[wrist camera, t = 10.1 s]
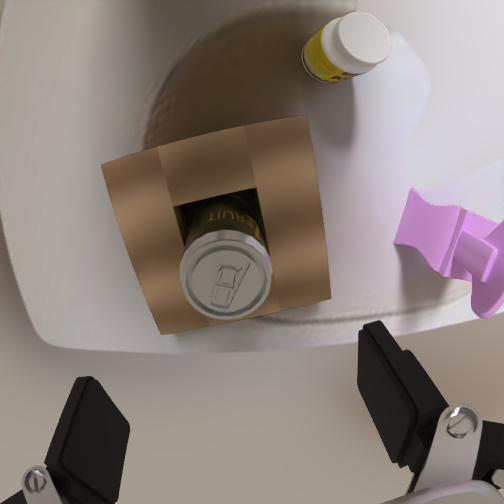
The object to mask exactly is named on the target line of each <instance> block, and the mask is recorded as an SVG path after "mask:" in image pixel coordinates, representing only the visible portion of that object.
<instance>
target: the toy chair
mask: <svg viewBox="0 0 504 504" xmlns="http://www.w3.org/2000/svg"><path fill="white" fill-rule="evenodd" d="M394 244H397V245H408V246H412V247H414V248H416V249H417V250H418V251H420V252H421V254H422V255H423V256H424V258H425V259H426V261H427V262H428V264H429V265H430V267H431V268H432V269H433V270H435V271H436V272H438V273H440V274H441V275H442V276H443V277H448V278H455V279H461V280H466V281H471V282H472V295H471V307H472V310H473V312H474V313H475V314H476V315H477V316H479V317H480V318H482V319H487V318H488V317H490V316H492V315H493V314H494V313H495V312H496V311H497V310H498V309H499V308H500V307H501V305H502V304H503V302H504V221H502V222H501V223H500V224H498V223H496V222H493V221H491V220H489V219H487V218H484V217H482V216H480V215H477V214H475V213H473V212H470V211H468V210H465V209H463V208H462V207H461V206H459V207H458V206H455V205H448V206H435V205H431V204H430V203H428V202H427V201H426V200H424V199H423V198H422V197H421V196H420V195H419V194H418V192H417V191H416V190H415V189H414V188H411V189H410V192H409V196H408V199H407V202H406V206H405V209H404V212H403V216H402V219H401V222H400V225H399V228H398V231H397V234H396V237H395V240H394Z"/></svg>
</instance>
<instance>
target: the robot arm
mask: <svg viewBox="0 0 504 504" xmlns="http://www.w3.org/2000/svg"><path fill="white" fill-rule="evenodd" d="M357 385H358V388H359V391H360V393H361V396H362V398H363V400H364V402H365V404H366V406H367V408H368V411H369V412H370V415H371V417H372V419H373V422H374V424H375V426H376V428H377V430H378V432H379V435H380V437H381V439H382V441H383V444H384V446H385V448H386V450H387V452H388V455H389V457H390V459H391V461H392V463H396V462H397V463H398V465H399V467H400V468H402V467H404V466H407V465H408V466H409V468H410V470H411V472H413V476H412V479H411V481H410V484H409V486H408V489H407V491H406V493H405V495H404V496H401V497H398V498H396V499H393V500H390V501H387V502H384V503H381V504H504V498H503V496H502V495H501V494H500V492H499V491H498V490H497V489H501V488H503V489H504V424H502V423H496V422H490V421H484V420H482V416H481V414H480V412H479V411H478V410H477V409H476V408H475V407H473V406H472V405H469V404H465V403H458V404H454V405H451V406H449V405H448V403H447V402H446V400H445V399H444V398H443V396H442V395H441V393H440V392H439V390H438V389H437V387H436V386H435V385H434V383H433V381H432V380H431V378H430V377H429V376H428V374H427V373H426V371H425V370H424V368H423V367H422V366H421V364H420V363H419V362H418V360H417V359H416V357H415V356H414V354H413V353H412V352H411V351H410V350H404V351H402V350H401V348H400V347H399V345H398V344H397V343H396V341H395V340H394V338H393V337H392V335H391V334H390V333H389V331H388V330H387V328H386V327H385V326H384V324H383V323H382V322H381V321H380V320H378V321H374V322H371V323H368V324H365V325H363V330H360V331H359V333H358V375H357ZM129 433H130V425H129V423H128V421H127V420H126V419H125V417H124V416H123V415H122V413H121V412H120V411H119V409H118V408H117V407H116V405H115V404H114V403H113V401H112V400H111V399H110V397H109V396H108V394H107V393H106V391H105V390H104V389H103V387H102V386H101V384H100V383H99V382H98V380H95V379H94V378H93V377H91V376H86V377H78V378H77V379H76V380H75V383H74V385H73V387H72V390H71V392H70V394H69V397H68V399H67V402H66V404H65V407H64V409H63V412H62V414H61V417H60V419H59V423H58V425H57V427H56V430H55V433H54V435H53V438H52V441H51V444H50V447H49V449H48V452H47V456H46V458H45V462H44V463H45V464H46V465H47V467H46V469H45V468H44V467H42V466H33V467H30V468H29V469H28V470H27V471H26V472H25V473H24V475H23V478H22V490H20V491H19V492H17V493H16V494H14V495H13V496H11V497H10V498H8V499H6V500H5V501H3V502H2V503H0V504H115V502H117V500H118V496H119V490H120V484H121V477H122V471H123V465H124V460H125V454H126V449H127V443H128V438H129Z"/></svg>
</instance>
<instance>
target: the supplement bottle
mask: <svg viewBox="0 0 504 504" xmlns="http://www.w3.org/2000/svg"><path fill="white" fill-rule="evenodd" d="M391 48H392V41H391V37H390V34H389V32H388V30H387V28H386V27H385V26H384V24H383V23H382V22H381V21H379V20H378V19H377V18H375V17H374V16H372V15H370V14H367V13H363V12H353V13H350V14H347V15H346V16H344V17H339V18H336V19H334V20H332V21H330V22H329V23H328V24H326V25H325V26H324V27H323V28H322V29H321V30H320V31H319V32H318V33H316V34H315V35H314V36H313V37H312V38H311V39H310V40H309V41H308V42H307V43H306V44H305V45H304V47H303V49H302V54H301V58H302V63H303V65H304V68H305V69H306V71H307V72H308V73H309V74H310V75H311V76H312V77H313V78H315V79H317V80H319V81H321V82H325V83H336V82H340V81H342V80H345V79H348V78H351V77H354V76H357V75H360V74H364V73H366V72H368V71H370V70H372V69H373V68H374V67H375V66H376V65H377V64H378V63H380V62H382V61H384V60H385V59H386V58H387V57H388V56H389V54H390V52H391Z"/></svg>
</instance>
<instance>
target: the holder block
mask: <svg viewBox="0 0 504 504" xmlns="http://www.w3.org/2000/svg"><path fill="white" fill-rule="evenodd" d="M101 168H102V171H103V175H104V179H105V182H106V186H107V189H108V192H109V196H110V199H111V202H112V206H113V209H114V212H115V215H116V218H117V222H118V225H119V228H120V231H121V234H122V237H123V240H124V242H125V245H126V248H127V251H128V254H129V257H130V259H131V262H132V265H133V268H134V270H135V273H136V275H137V278H138V281H139V283H140V286H141V288H142V291H143V293H144V296H145V298H146V301H147V303H148V306H149V308H150V310H151V313H152V315H153V318H154V320H155V322H156V325H157V327H158V329H159V331H160V334H161V335H165V334H170V333H176V332H182V331H187V330H193V329H198V328H203V327H208V326H213V325H218V324H223V323H228V322H233V321H238V320H243V319H247V318H252V317H257V316H261V315H266V314H270V313H274V312H279V311H283V310H287V309H292V308H296V307H300V306H304V305H308V304H312V303H316V302H320V301H324V300H328V299H331V290H330V279H329V268H328V258H327V249H326V240H325V231H324V223H323V215H322V208H321V200H320V193H319V186H318V179H317V173H316V166H315V160H314V154H313V148H312V142H311V137H310V131H309V125H308V120H307V115H302V116H295V117H289V118H283V119H276V120H271V121H265V122H259V123H254V124H249V125H244V126H239V127H234V128H229V129H225V130H220V131H216V132H212V133H207V134H203V135H199V136H195V137H191V138H187V139H183V140H179V141H176V142H172V143H168V144H165V145H161V146H158V147H154V148H151V149H148V150H144V151H141V152H138V153H135V154H131V155H128V156H125V157H122V158H119V159H116V160H113V161H110V162H107V163H104V164H102V165H101ZM250 188H254V193H255V198H256V203H257V208H258V212H259V217H260V222H261V227H262V232H263V237H264V242H265V245H266V248H267V251H268V253H269V256H270V259H271V265H272V270H273V273H272V278H271V285H270V290H269V293H268V295H267V297H266V299H265V300H264V302H263V303H262V304H261V305H260V306H259V307H258V308H257V309H256V310H255V311H254V312H252V313H250V314H248V315H246V316H244V317H241V318H236V319H231V320H224V319H215V318H212V317H209V316H206V315H203V314H202V313H201V312H199V311H198V310H196V309H195V308H194V307H193V306H192V305H191V304H190V302H189V301H188V300H187V298H186V297H185V294H184V291H183V288H182V283H181V280H180V262H181V259H182V255H183V251H184V248H185V244H186V241H187V237H188V234H189V229H188V225H187V221H186V218H185V214H184V210H183V207H182V204H185V203H189V202H193V201H197V200H202V199H206V198H210V197H214V196H219V195H223V194H227V193H232V192H236V191H241V190H245V189H250Z"/></svg>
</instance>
